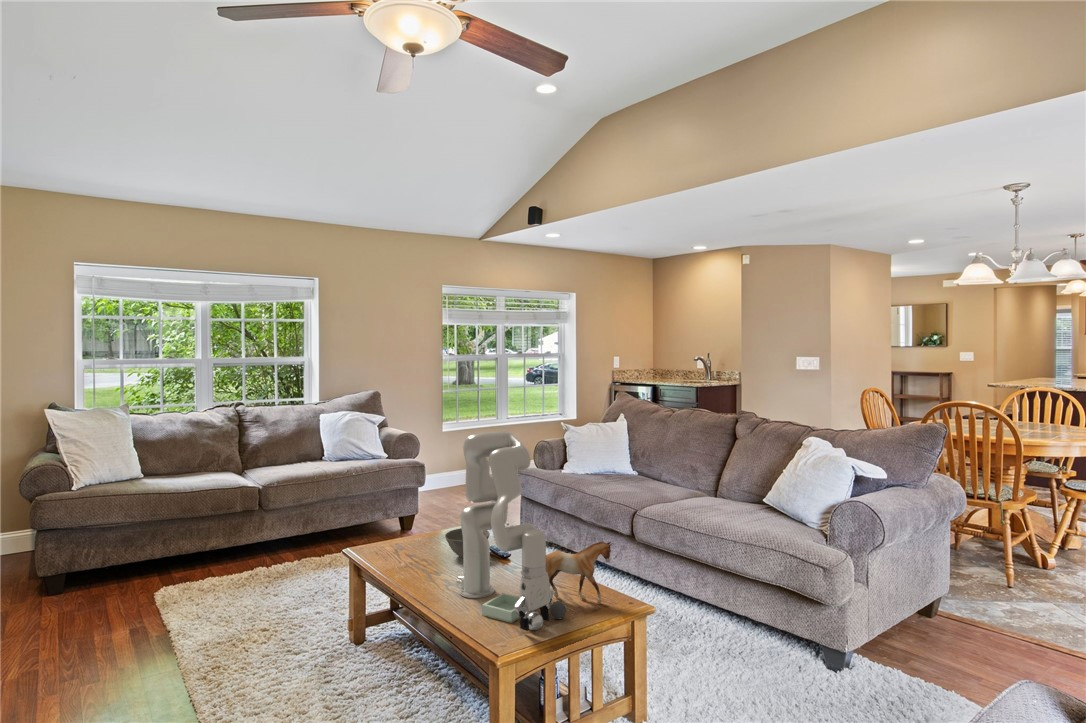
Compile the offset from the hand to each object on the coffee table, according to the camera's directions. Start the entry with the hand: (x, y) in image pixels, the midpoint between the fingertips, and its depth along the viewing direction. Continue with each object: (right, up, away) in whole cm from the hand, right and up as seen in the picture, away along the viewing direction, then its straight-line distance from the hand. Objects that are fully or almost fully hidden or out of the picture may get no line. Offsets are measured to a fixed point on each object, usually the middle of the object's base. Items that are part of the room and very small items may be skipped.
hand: (534, 624), depth 204 cm
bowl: (-29, 0, +71) cm, 77 cm away
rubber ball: (+8, -1, +8) cm, 11 cm away
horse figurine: (+12, -1, +26) cm, 28 cm away
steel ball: (0, -2, 0) cm, 2 cm away
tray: (-9, -1, +13) cm, 16 cm away
